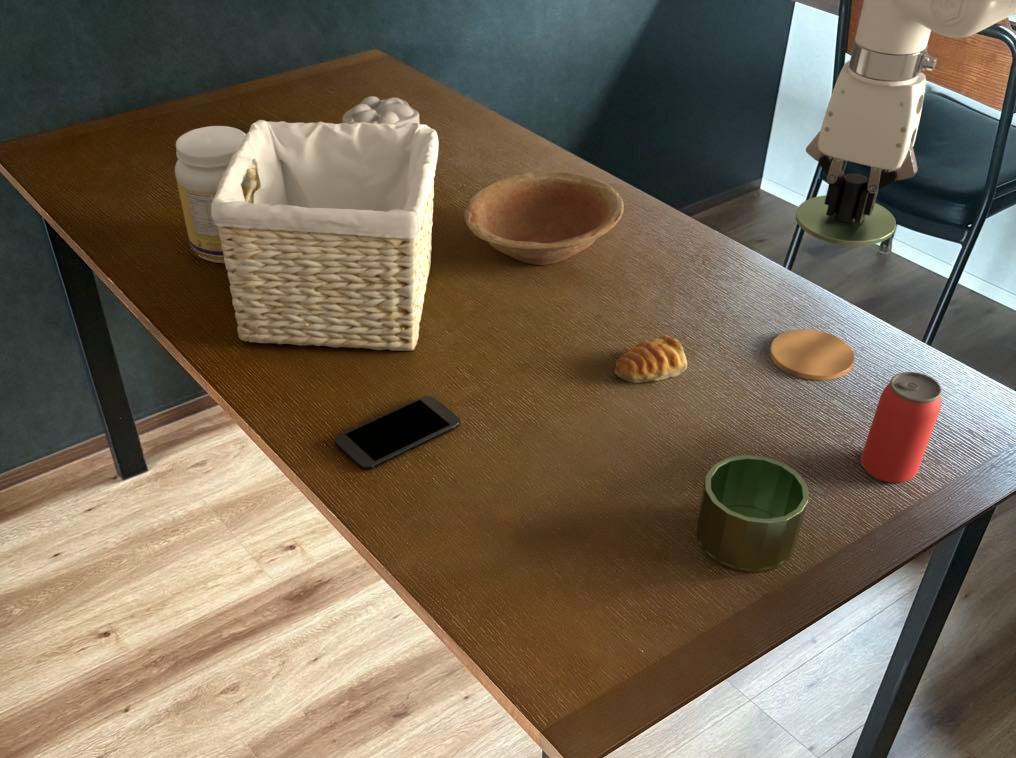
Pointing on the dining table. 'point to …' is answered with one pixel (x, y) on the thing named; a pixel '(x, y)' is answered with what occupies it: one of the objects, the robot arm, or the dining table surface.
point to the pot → (751, 513)
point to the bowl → (543, 215)
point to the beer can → (902, 427)
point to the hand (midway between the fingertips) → (846, 213)
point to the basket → (329, 232)
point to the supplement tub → (204, 181)
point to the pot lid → (846, 217)
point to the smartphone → (396, 432)
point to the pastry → (652, 361)
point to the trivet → (812, 354)
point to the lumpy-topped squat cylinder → (382, 112)
